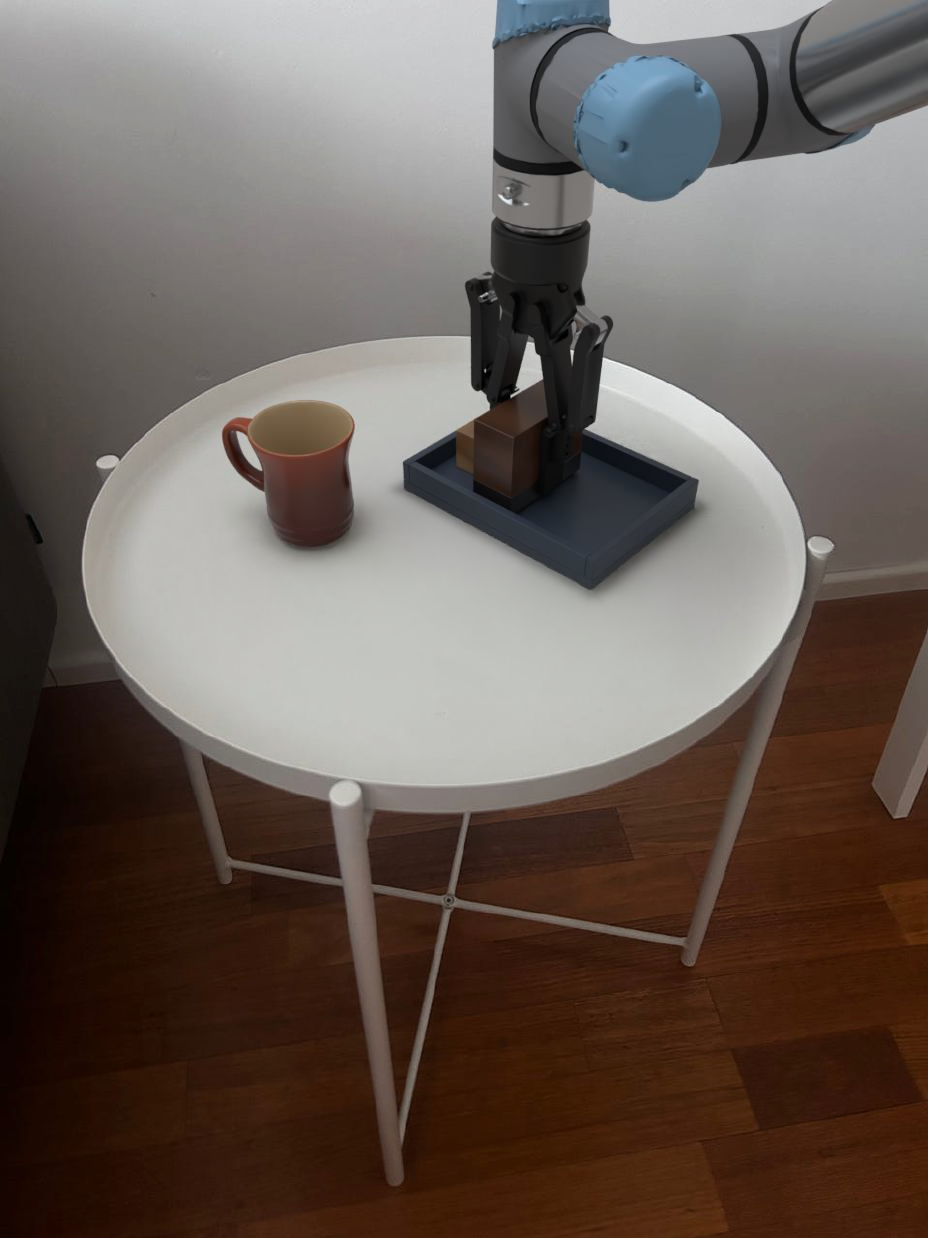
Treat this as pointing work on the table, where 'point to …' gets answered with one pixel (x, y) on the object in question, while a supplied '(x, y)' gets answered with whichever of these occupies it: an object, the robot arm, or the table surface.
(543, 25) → the robot arm
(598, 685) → the table surface
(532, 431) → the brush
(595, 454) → the tray
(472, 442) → the wooden cube
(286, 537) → the mug
